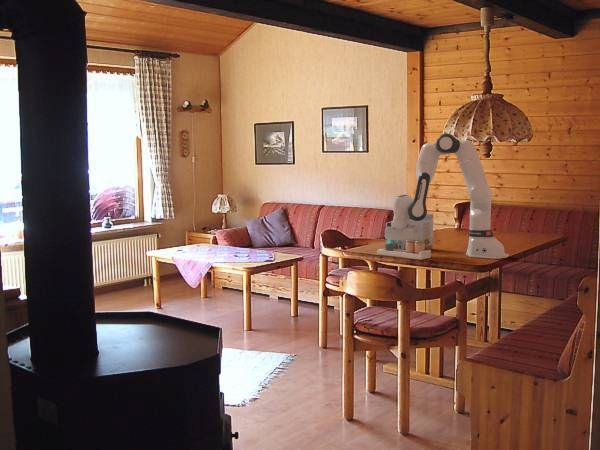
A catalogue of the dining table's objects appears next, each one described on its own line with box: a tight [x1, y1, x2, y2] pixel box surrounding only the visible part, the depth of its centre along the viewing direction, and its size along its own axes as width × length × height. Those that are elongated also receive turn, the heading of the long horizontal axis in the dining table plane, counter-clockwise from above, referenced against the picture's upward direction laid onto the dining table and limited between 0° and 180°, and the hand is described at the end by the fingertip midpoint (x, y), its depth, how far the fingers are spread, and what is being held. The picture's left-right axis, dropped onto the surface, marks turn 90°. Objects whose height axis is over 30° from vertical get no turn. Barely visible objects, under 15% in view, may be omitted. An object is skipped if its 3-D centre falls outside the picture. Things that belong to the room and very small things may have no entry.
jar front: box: [414, 241, 425, 254], centre depth 377 cm, size 5×5×9 cm
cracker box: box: [409, 212, 434, 251], centre depth 409 cm, size 14×6×21 cm, turn 70°
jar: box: [406, 240, 416, 254], centre depth 381 cm, size 5×5×9 cm
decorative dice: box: [386, 239, 396, 249], centre depth 414 cm, size 8×8×8 cm
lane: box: [376, 248, 432, 260], centre depth 384 cm, size 29×9×4 cm, turn 47°
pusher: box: [384, 242, 399, 251], centre depth 392 cm, size 2×11×6 cm, turn 137°
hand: (400, 248), depth 393 cm, fingers closed
